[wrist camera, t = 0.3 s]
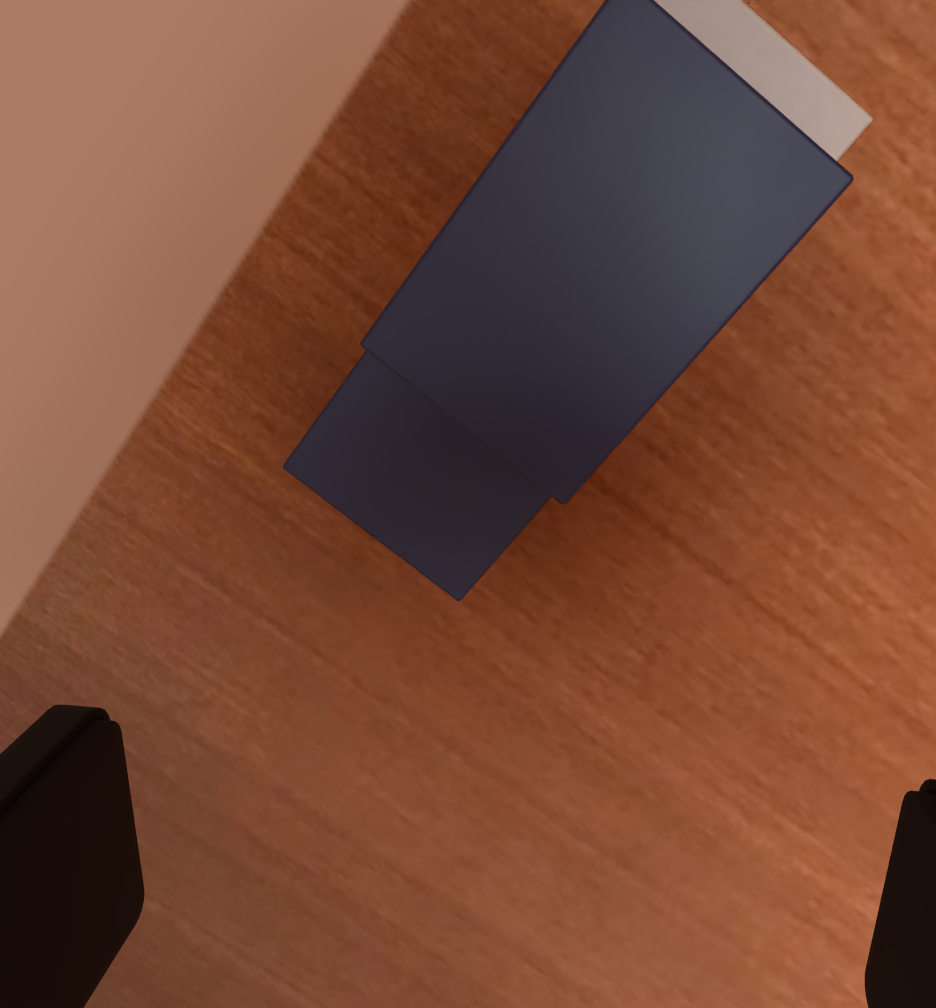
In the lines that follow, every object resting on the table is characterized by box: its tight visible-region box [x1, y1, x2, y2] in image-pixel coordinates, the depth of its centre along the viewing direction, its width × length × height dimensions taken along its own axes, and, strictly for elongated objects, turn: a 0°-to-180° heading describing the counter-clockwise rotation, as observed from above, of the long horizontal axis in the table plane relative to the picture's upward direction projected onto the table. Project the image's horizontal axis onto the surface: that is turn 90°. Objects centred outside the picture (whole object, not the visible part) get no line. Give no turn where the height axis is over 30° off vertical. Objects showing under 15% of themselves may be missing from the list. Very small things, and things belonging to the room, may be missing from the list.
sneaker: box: [283, 0, 873, 601], centre depth 21 cm, size 16×6×6 cm, turn 142°
